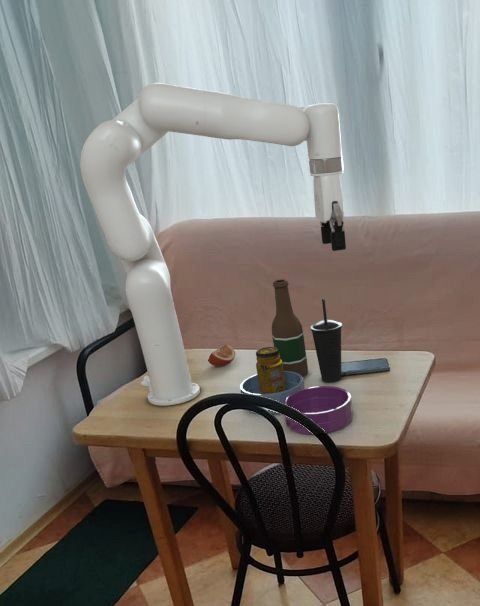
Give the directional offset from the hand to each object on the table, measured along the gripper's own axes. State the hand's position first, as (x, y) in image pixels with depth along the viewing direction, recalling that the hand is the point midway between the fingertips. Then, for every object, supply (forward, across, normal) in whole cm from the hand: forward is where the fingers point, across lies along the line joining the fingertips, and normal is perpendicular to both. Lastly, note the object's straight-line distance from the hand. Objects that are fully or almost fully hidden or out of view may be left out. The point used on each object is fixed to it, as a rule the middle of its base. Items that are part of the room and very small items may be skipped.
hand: (333, 246), depth 148 cm
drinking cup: (+31, +6, -5) cm, 32 cm away
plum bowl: (+30, +28, -13) cm, 43 cm away
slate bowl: (+30, +14, -21) cm, 39 cm away
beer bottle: (+31, -1, -14) cm, 33 cm away
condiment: (+30, +14, -21) cm, 39 cm away
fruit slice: (+31, -17, -30) cm, 46 cm away
